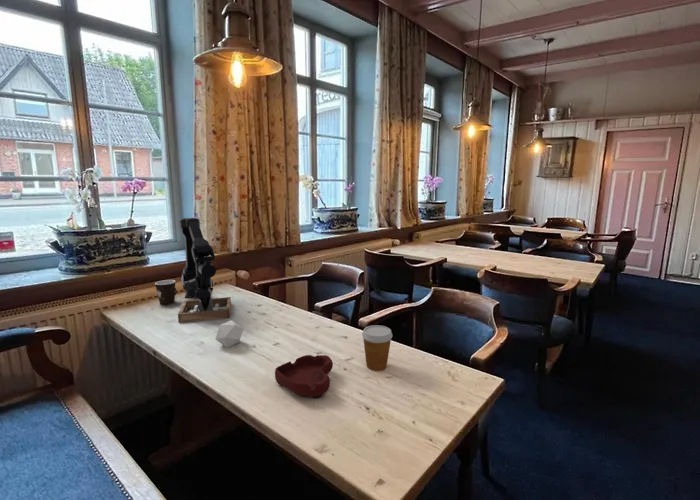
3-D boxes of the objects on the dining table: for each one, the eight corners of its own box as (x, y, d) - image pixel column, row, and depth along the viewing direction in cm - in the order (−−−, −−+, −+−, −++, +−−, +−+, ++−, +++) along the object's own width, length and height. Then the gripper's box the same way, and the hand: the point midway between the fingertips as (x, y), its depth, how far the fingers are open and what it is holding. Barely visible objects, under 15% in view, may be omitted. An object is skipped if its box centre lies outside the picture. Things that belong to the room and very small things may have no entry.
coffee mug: (156, 301, 181) (153, 281, 179) (175, 298, 185) (173, 278, 183) (159, 308, 171) (156, 287, 169) (179, 305, 176) (177, 284, 174)
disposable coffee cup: (356, 362, 122) (356, 327, 120) (382, 357, 126) (383, 322, 123) (369, 376, 113) (370, 339, 111) (397, 370, 117) (398, 333, 115)
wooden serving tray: (184, 308, 172) (184, 300, 171) (230, 304, 177) (230, 297, 177) (178, 322, 155) (177, 314, 154) (229, 317, 160) (229, 309, 160)
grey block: (200, 312, 168) (199, 297, 167) (212, 311, 169) (211, 296, 168) (199, 315, 163) (198, 300, 162) (212, 314, 165) (211, 299, 163)
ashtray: (281, 368, 119) (281, 353, 118) (333, 369, 118) (333, 354, 117) (267, 401, 101) (267, 384, 100) (328, 402, 101) (328, 385, 100)
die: (245, 348, 133) (249, 321, 138) (224, 344, 127) (228, 315, 131) (230, 351, 138) (234, 324, 142) (209, 347, 131) (213, 319, 136)
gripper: (186, 268, 169) (189, 302, 172) (179, 279, 152) (183, 316, 155) (212, 267, 172) (214, 300, 175) (209, 277, 155) (211, 314, 158)
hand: (206, 307), depth 166 cm, fingers open, 6 cm apart
